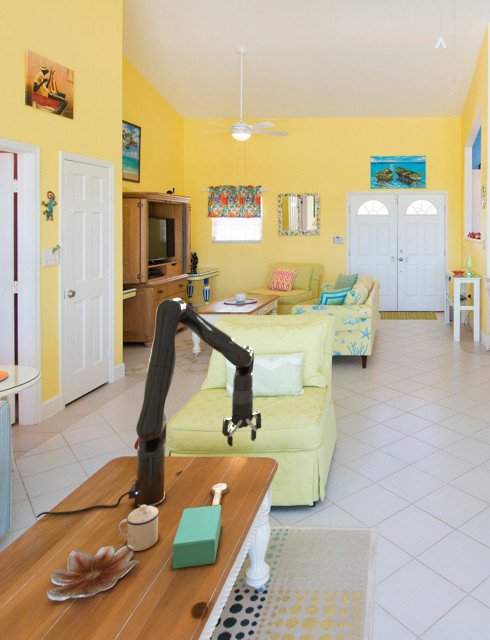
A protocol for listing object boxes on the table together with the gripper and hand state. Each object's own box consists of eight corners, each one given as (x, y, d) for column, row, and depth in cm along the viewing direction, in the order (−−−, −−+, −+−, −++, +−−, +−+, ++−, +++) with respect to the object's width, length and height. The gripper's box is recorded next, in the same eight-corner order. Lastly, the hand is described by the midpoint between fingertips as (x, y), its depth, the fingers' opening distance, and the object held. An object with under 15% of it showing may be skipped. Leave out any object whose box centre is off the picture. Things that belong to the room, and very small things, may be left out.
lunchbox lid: (214, 541, 138) (214, 538, 138) (172, 546, 135) (172, 544, 135) (221, 507, 156) (221, 504, 156) (184, 511, 153) (184, 508, 153)
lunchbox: (214, 563, 138) (214, 540, 138) (172, 568, 136) (173, 545, 136) (220, 527, 156) (221, 507, 156) (184, 531, 153) (184, 511, 153)
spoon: (223, 512, 164) (223, 504, 164) (207, 514, 163) (207, 506, 163) (227, 487, 181) (227, 480, 181) (212, 489, 179) (213, 481, 179)
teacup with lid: (163, 533, 152) (163, 498, 152) (150, 552, 143) (150, 514, 143) (126, 533, 152) (127, 497, 152) (111, 552, 143) (111, 514, 143)
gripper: (257, 394, 182) (256, 435, 182) (220, 400, 174) (219, 443, 174) (264, 399, 176) (263, 442, 176) (226, 406, 168) (226, 451, 168)
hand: (241, 442), depth 175 cm, fingers open, 8 cm apart
